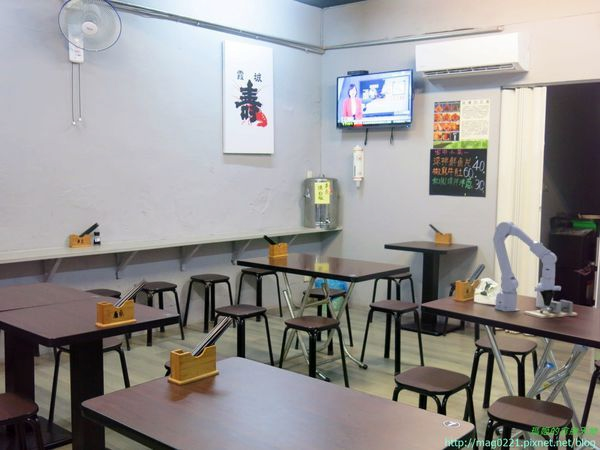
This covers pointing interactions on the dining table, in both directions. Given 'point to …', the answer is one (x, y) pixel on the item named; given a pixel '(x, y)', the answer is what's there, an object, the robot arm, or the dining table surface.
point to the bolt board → (545, 313)
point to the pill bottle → (540, 297)
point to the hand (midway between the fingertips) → (547, 305)
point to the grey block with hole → (555, 307)
